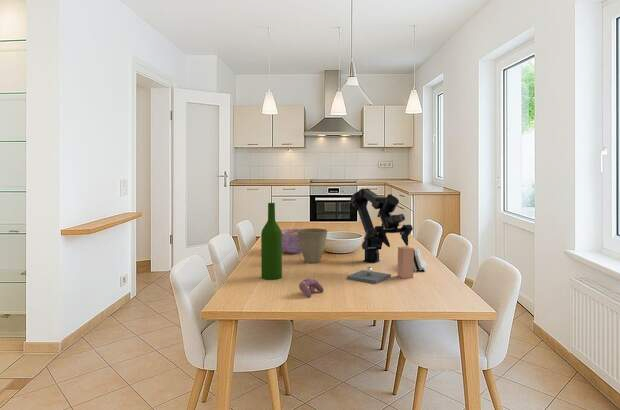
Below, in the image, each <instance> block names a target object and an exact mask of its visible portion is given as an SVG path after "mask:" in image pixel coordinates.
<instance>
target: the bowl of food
mask: <svg viewBox="0 0 620 410" xmlns="http://www.w3.org/2000/svg"><path fill="white" fill-rule="evenodd" d="M300 229H301V228H288V229H287V228H286V229H285V228H284V229H281V232H282V251H284V252H286V253H287V254H291V255H292V254H294V255H296V254H301V253H302V250H301V247H300V243H299V237H298V230H300Z"/></svg>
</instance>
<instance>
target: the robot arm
mask: <svg viewBox="0 0 620 410" xmlns="http://www.w3.org/2000/svg"><path fill="white" fill-rule="evenodd" d="M399 201H400V200H399V198H397V197H396V196H394V195H393V194H392V193H388V194H387V196H382V195H378V194H376V193H375V192H374V191H372V190H371V189H370V188H360V189H359V190H358V191H357V192H355V193H353V194H352V196H351V197H350V204H351V205H352V207H353V209H354V210H356V211H357V212H358V215H359V219H360V221H361V223H362V226H363V230H364V233H365V234H364V240H363V242H362V243H361V249H362V250H364V259H363V260H362V262H367V263H375V264H376V263H378V262H380V261H381V260H380V252H379V251H380V250H382V247H383V244H384V245H385V246H387V248H391V247H390V246H391V244H390V241H389V239H388V237H387V234H397V233H398V234H399V235H400V236H401V237H400V238H401V239H402V241H403V243H404V246H409V235H410V234H411V232H412V231H413V230H414V228H413V225H412V224H403V225H402V226H401V227H400V224H401V223H402V222H404V221H405V220H406V217H405V215H404V213H399V214H393V212H394V211H395V210H396V209H397V206H398V205H399V203H400V202H399ZM369 202H370V203H371V206H372V207H373V210H378V212H377V218H380V220H381V225H376V226H374V224H373V221H372V219H371V216H370V212H369V211H368V207H367V206H368V203H369Z"/></svg>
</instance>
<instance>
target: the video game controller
mask: <svg viewBox="0 0 620 410" xmlns="http://www.w3.org/2000/svg"><path fill="white" fill-rule="evenodd" d="M298 289H299V290H300V291H301V292H302V293H303V295H305V296H306V297H307V298H311V297H312V293H314V292H316V291H317V292H320V293H323V292H324V287H323V285H322V284H320V283H319V281H318V280H317V279H316V278H315V277H313V278H312V277H311V278H310V277H309V278H305V279H303V280H302V281H301V282H300V283H299V284H298Z"/></svg>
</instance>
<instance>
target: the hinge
mask: <svg viewBox="0 0 620 410" xmlns="http://www.w3.org/2000/svg"><path fill="white" fill-rule="evenodd" d="M426 265H427V262H426V260H424V259H423V257H422V254H421V251H420V249H419V248H414V267H413V272H417V271H418V270H419V271H422V270H423V271H424V273H426V271H427V266H426Z"/></svg>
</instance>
